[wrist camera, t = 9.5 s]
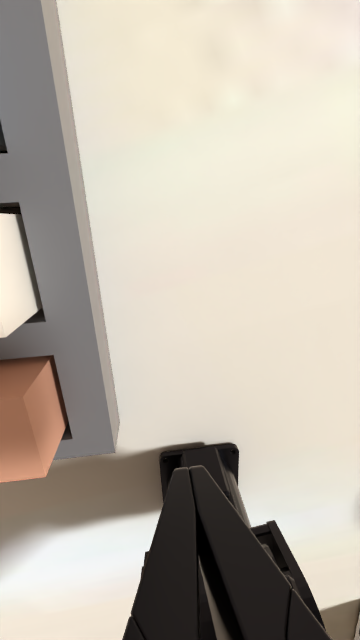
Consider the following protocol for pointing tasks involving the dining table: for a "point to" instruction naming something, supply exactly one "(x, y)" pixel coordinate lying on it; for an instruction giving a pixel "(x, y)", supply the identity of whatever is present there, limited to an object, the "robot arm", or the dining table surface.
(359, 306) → the dining table surface
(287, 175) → the dining table surface
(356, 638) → the tea box
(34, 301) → the cream key
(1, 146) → the light grey cube
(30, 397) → the terracotta key
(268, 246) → the dining table surface
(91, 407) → the grey slotted tray
